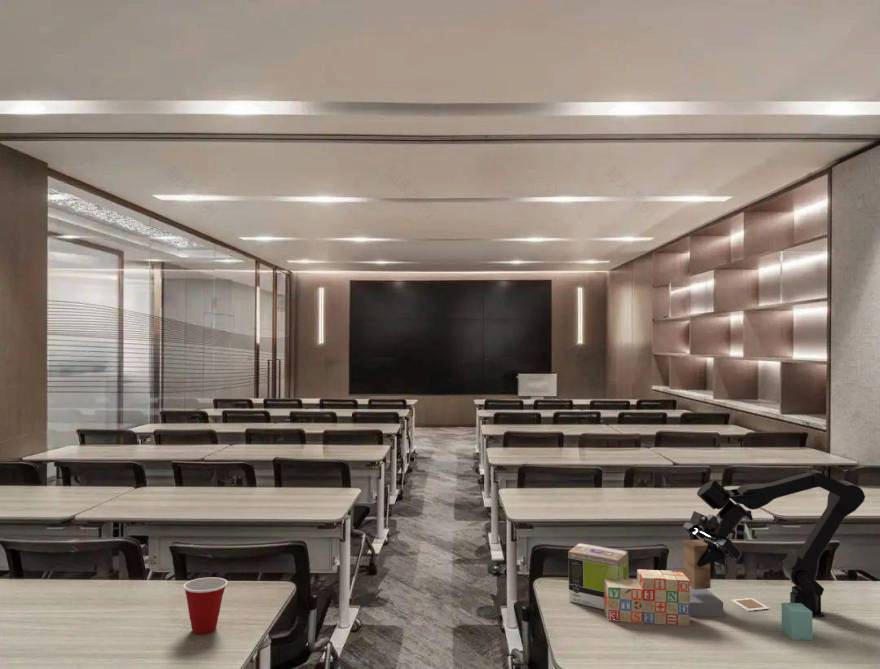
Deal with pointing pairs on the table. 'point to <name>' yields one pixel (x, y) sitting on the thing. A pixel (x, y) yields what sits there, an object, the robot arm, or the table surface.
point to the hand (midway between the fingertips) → (692, 562)
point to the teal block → (797, 621)
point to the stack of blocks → (649, 598)
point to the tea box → (594, 572)
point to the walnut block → (695, 564)
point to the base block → (704, 603)
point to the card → (750, 604)
